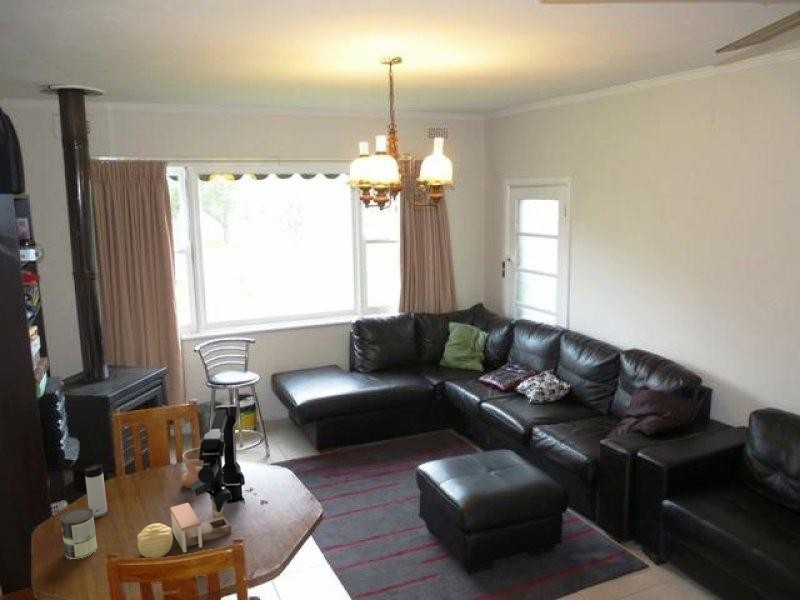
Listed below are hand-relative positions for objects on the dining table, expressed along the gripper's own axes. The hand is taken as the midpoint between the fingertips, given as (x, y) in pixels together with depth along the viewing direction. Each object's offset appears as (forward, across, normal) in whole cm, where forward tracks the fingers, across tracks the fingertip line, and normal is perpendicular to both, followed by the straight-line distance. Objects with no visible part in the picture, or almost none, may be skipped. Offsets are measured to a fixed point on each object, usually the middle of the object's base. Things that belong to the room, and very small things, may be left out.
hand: (217, 509), depth 235 cm
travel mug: (+9, -39, -36) cm, 53 cm away
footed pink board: (+9, -1, -11) cm, 14 cm away
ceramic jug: (+9, -42, +4) cm, 43 cm away
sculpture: (+9, +2, -23) cm, 24 cm away
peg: (+2, 0, 0) cm, 3 cm away
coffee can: (+9, -14, -45) cm, 48 cm away
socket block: (+9, 0, -5) cm, 10 cm away
